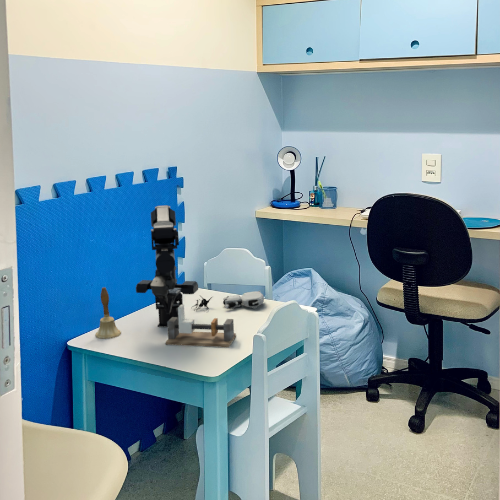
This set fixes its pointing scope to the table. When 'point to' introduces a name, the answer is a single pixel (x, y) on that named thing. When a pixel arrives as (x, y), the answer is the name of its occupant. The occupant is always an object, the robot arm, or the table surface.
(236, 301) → the robot toy
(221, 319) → the table surface
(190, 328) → the white l-bracket
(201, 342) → the rail board
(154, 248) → the robot arm
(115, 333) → the hand bell
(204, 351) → the table surface
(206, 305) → the creature
